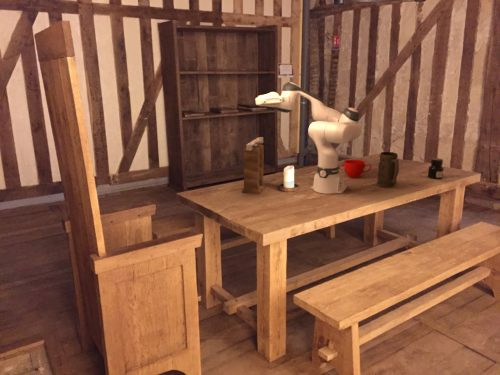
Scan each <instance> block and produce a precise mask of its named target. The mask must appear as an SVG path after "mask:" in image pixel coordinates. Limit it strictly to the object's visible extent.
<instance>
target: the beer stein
mask: <svg viewBox="0 0 500 375" xmlns="http://www.w3.org/2000/svg"><path fill="white" fill-rule="evenodd" d="M377 167H378V168H377V173H376V174H377V176H376V177H377V180H376V181H377V182H376V186H378V187H380V188H386V189H392V188H395V187H396V184H397V178H398V175H399V172H400V171H399V170H400V164H399V159H398V153H396V152H392V151H381V152H380V154H379V161H378V166H377Z"/></svg>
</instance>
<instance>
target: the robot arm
mask: <svg viewBox="0 0 500 375" xmlns="http://www.w3.org/2000/svg"><path fill="white" fill-rule="evenodd" d="M298 95H299V96H301V97H303V98H305V99H307V100H309V101H310V105H311V117H312V120H314V121H312V122H311V123H310V125H309V127H308V129H307V130H308V136H309V138H310V139H311V140H312V141H313V142H314V144H315V147H316V150H317V166H316V173H315V174H314V179H313V185H311V187H310V188H311V189H313V190H314V192H316V193H319V194H328V195H329V194H342V193H344V191H345V190H346V189H347V188H348V186H347V184H344V177H343V175H341V174H340V169H341V165H339V152H338V150H336V149H335V147H333V146H332V144H347V143H348V142H350V141H354V140H357V139H358V138H359V137H361V135H362V128H361V126H360V125H359V124H358V122H359V121H360V114H361V113H360V112H359V111H358V110H357V109H356V108H354V107H346V108H344V109H343V111H342V113H341V112H340V111H339V110H336V109H334V108H332V107H328V106H326V105H325V104H324V103H323V100H322V99H321V98H320V97H318V96H316V95H315V94H313V93H312V92H309V91H308V90H305V89H303V88H302V87H300V86H299V85H298V84H296V83H294V82H292V81H287V82H286V83H284V84H283V85H282V89H281V94H280V95H279V93H277V92H276V91H270V92H269V93H266V94H260V95H258V96H257V97H255V105H256V106H259V107H271V108H274V110H276V111H278V112H281V113H284V114H285V113H290V112H292V111H293V109H294V107H295V102H296V100H297V97H298Z"/></svg>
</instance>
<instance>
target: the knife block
mask: <svg viewBox="0 0 500 375" xmlns="http://www.w3.org/2000/svg"><path fill="white" fill-rule="evenodd" d="M247 144H248V143H247ZM247 144H245V147H244V148H243V189H242V190H241V193H243V194H253V195H255V194H256V195H260V194H261V193H262V191H263V190H265V187H266V186H265V185H264V164H265V163H264V162H265V160H264V155H265V154H264V150H265V149H264V147H265V145H263V143H262V142H259V146H258V145H255V146H254V149H253V150H252V151H251V150H246V145H247Z"/></svg>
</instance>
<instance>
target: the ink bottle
mask: <svg viewBox="0 0 500 375" xmlns="http://www.w3.org/2000/svg"><path fill="white" fill-rule="evenodd" d="M443 162H444V159H442V158H439V157H438V158H437V157H434V158H431V160H430V165H429V166H428V169H427V170H428V171H427V178H429V179H435V180H441V179H443V176H444V167H443V164H444V163H443Z"/></svg>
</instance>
